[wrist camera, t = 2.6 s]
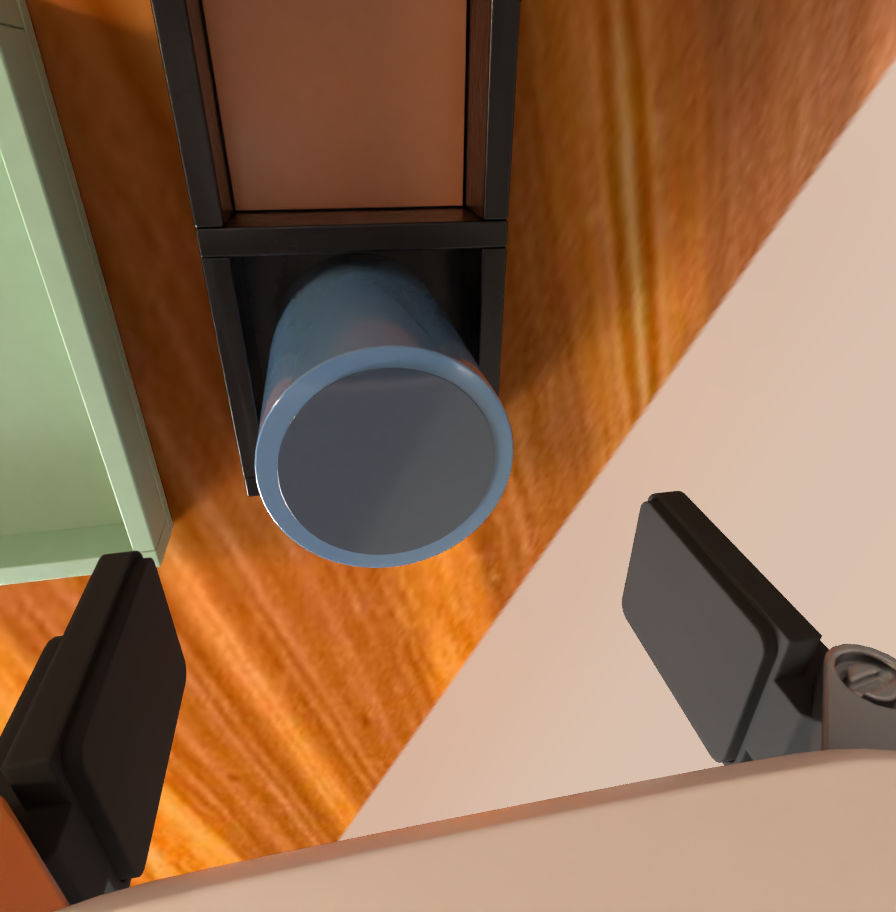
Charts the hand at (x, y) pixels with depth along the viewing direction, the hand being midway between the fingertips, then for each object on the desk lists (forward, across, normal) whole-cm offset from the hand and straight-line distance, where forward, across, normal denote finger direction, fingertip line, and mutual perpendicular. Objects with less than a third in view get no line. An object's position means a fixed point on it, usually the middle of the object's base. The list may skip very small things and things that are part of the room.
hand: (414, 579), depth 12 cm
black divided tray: (+13, 0, -5) cm, 14 cm away
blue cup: (+12, 0, 0) cm, 13 cm away
